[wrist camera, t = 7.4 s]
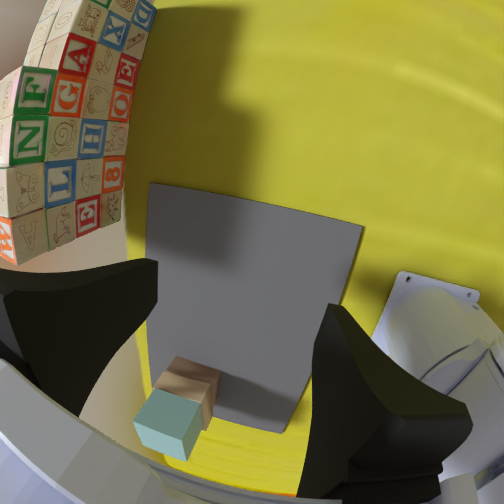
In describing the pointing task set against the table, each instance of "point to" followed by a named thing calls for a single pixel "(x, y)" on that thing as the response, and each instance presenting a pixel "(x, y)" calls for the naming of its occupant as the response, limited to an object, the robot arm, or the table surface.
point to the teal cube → (169, 424)
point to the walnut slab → (196, 373)
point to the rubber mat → (243, 295)
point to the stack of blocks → (68, 124)
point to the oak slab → (189, 393)
